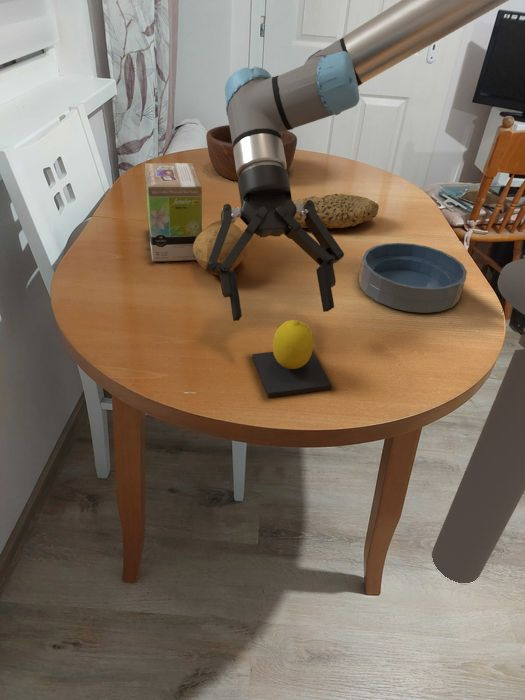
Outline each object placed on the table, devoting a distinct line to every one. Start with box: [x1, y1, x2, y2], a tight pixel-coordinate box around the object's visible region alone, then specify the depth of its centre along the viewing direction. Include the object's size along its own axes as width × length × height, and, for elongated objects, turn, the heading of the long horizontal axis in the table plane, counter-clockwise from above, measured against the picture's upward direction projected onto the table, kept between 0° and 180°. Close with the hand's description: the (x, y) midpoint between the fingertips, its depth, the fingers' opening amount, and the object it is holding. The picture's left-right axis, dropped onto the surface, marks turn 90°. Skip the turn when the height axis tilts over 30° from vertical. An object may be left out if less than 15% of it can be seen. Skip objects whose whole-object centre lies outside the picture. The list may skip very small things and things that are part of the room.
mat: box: [251, 351, 333, 399], centre depth 73 cm, size 9×9×1 cm
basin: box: [358, 242, 468, 314], centre depth 94 cm, size 18×18×5 cm
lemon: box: [272, 319, 314, 369], centre depth 71 cm, size 6×6×8 cm
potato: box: [193, 219, 248, 276], centre depth 96 cm, size 10×14×8 cm
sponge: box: [292, 193, 380, 229], centre depth 117 cm, size 13×8×20 cm
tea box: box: [144, 162, 203, 262], centre depth 102 cm, size 15×10×15 cm, turn 12°
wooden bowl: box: [205, 124, 298, 182], centre depth 145 cm, size 25×25×10 cm
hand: (284, 314), depth 74 cm, fingers open, 13 cm apart
